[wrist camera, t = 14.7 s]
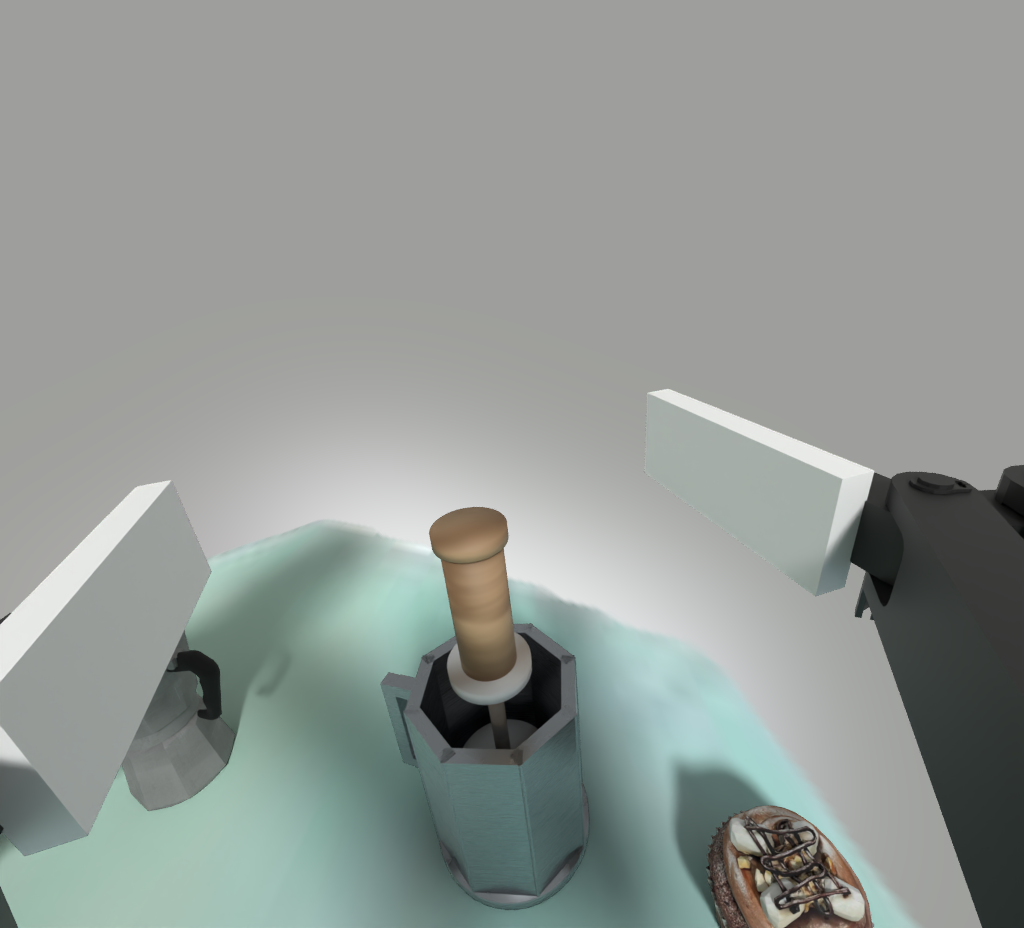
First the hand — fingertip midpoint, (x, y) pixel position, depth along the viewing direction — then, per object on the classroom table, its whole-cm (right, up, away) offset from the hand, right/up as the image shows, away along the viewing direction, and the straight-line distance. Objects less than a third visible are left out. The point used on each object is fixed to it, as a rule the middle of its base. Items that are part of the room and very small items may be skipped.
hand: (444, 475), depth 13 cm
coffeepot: (-31, -31, +35) cm, 56 cm away
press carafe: (+1, -30, +29) cm, 41 cm away
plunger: (+1, -25, +25) cm, 35 cm away
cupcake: (+20, -32, +20) cm, 43 cm away
